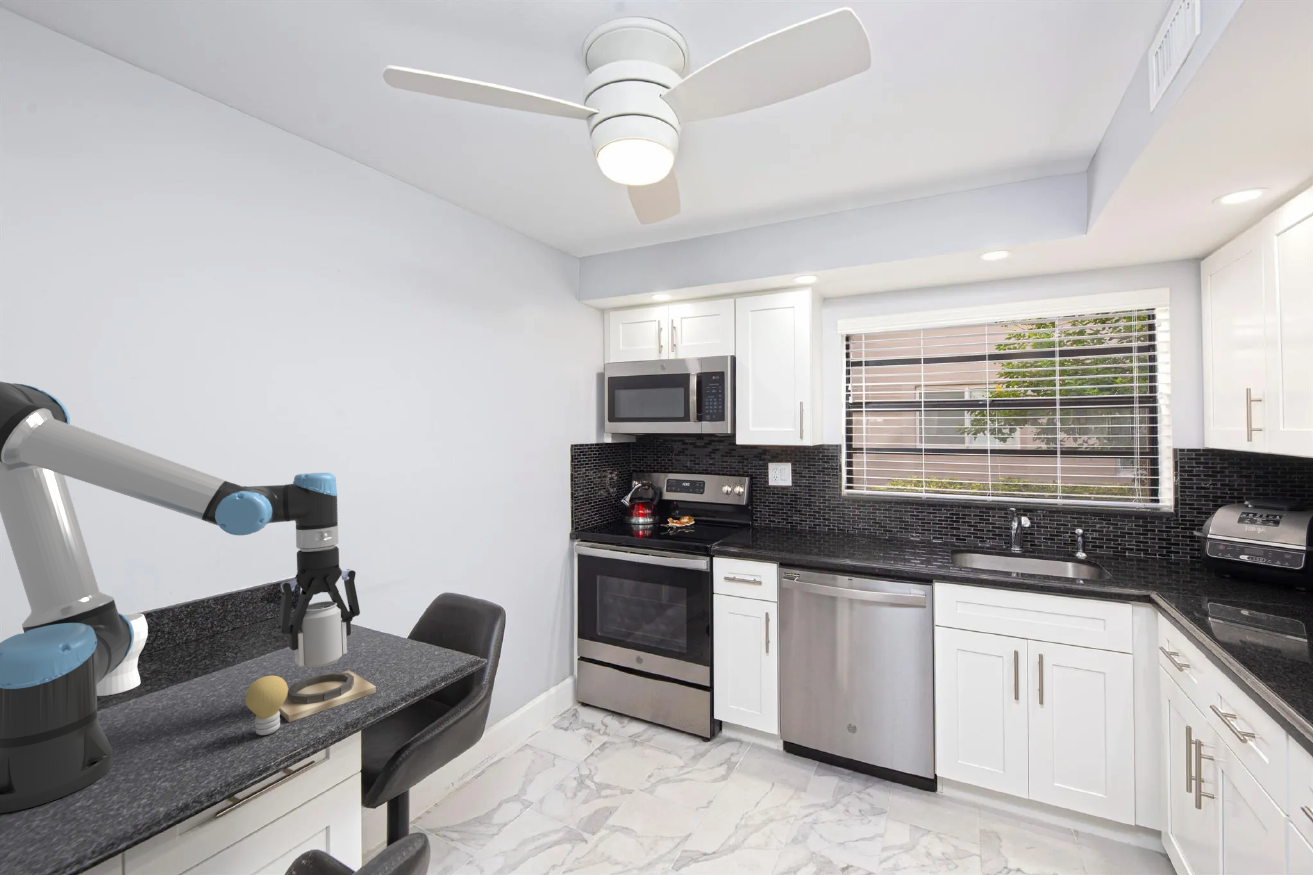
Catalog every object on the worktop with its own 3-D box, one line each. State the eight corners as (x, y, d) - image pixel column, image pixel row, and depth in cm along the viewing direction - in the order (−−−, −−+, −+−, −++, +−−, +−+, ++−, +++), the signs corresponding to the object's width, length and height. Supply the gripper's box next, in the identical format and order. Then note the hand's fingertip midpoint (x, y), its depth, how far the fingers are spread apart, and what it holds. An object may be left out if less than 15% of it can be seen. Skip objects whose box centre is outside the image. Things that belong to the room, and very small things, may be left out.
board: (289, 722, 108) (288, 707, 108) (266, 701, 118) (265, 687, 118) (376, 692, 121) (375, 679, 121) (349, 675, 130) (348, 663, 130)
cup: (152, 687, 126) (150, 618, 126) (83, 704, 118) (81, 631, 118) (146, 674, 133) (144, 609, 133) (81, 690, 126) (79, 621, 125)
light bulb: (256, 744, 101) (255, 687, 101) (239, 735, 104) (238, 680, 104) (295, 728, 106) (294, 674, 106) (278, 720, 109) (277, 667, 109)
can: (323, 670, 115) (321, 610, 115) (291, 668, 116) (289, 609, 116) (350, 656, 122) (348, 599, 122) (320, 654, 124) (318, 598, 124)
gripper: (266, 558, 109) (270, 679, 109) (376, 541, 124) (379, 647, 124) (254, 554, 114) (258, 669, 114) (361, 538, 129) (365, 640, 129)
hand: (321, 657), depth 119 cm, fingers closed on can, 7 cm apart
